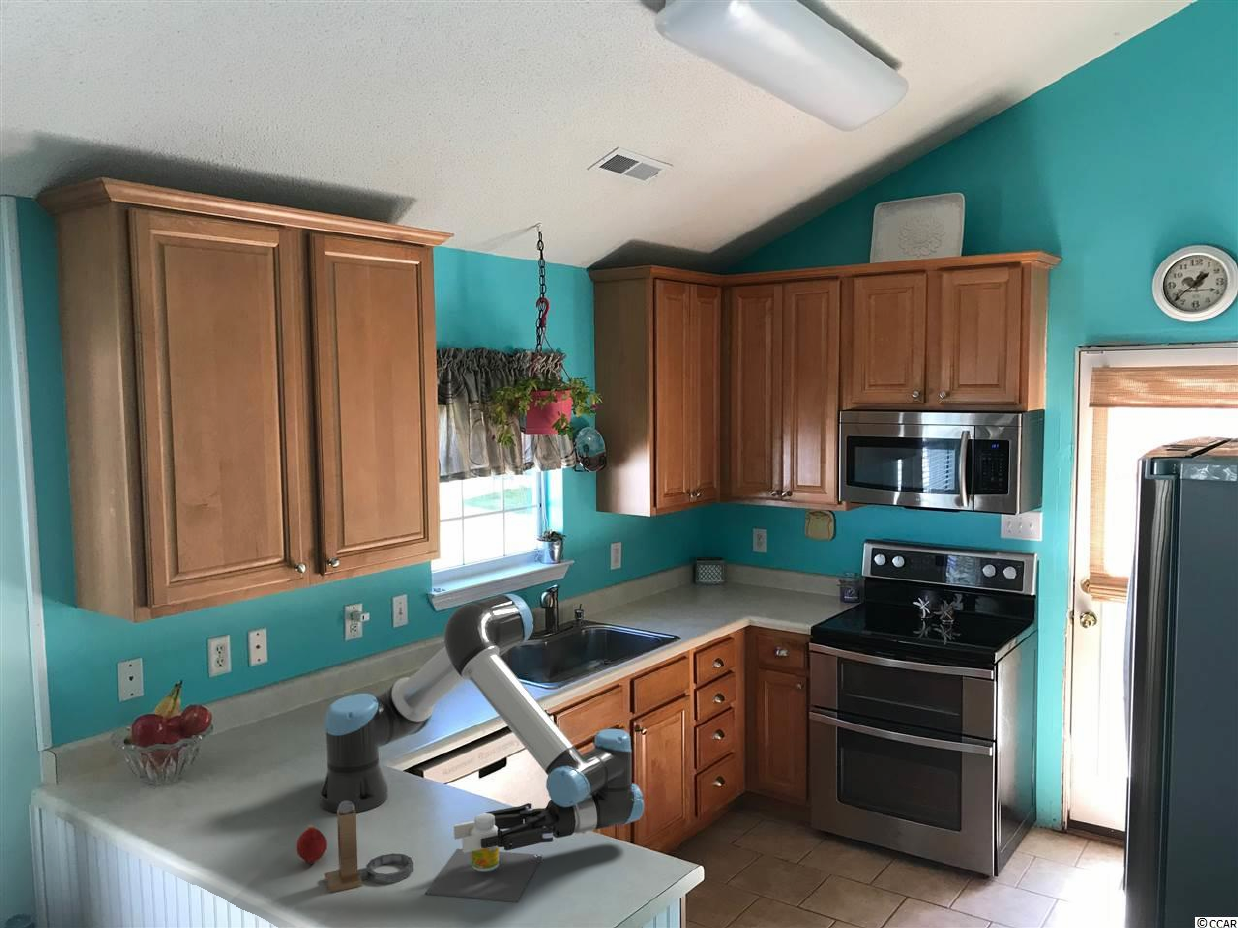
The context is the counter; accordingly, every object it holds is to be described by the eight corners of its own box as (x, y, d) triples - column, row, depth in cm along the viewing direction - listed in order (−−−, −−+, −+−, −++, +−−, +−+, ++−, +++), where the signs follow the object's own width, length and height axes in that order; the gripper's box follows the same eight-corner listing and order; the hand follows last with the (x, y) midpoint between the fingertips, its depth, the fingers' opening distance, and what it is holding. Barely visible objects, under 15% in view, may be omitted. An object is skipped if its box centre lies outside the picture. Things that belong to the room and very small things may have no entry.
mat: (457, 849, 201) (457, 848, 201) (541, 856, 198) (541, 854, 198) (425, 894, 183) (425, 892, 183) (517, 902, 180) (517, 900, 180)
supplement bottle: (465, 866, 190) (464, 818, 189) (486, 856, 194) (485, 808, 193) (484, 874, 186) (483, 825, 186) (505, 864, 191) (504, 816, 190)
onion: (330, 856, 199) (329, 818, 198) (322, 869, 193) (321, 830, 192) (301, 856, 198) (300, 818, 198) (293, 870, 193) (291, 831, 192)
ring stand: (345, 857, 198) (342, 780, 197) (419, 863, 195) (417, 785, 194) (312, 891, 185) (309, 809, 183) (392, 898, 182) (389, 815, 181)
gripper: (588, 852, 189) (472, 878, 180) (554, 815, 206) (446, 837, 196) (587, 815, 189) (471, 839, 179) (553, 781, 205) (445, 801, 196)
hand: (458, 838), depth 188 cm, fingers closed on supplement bottle, 5 cm apart
